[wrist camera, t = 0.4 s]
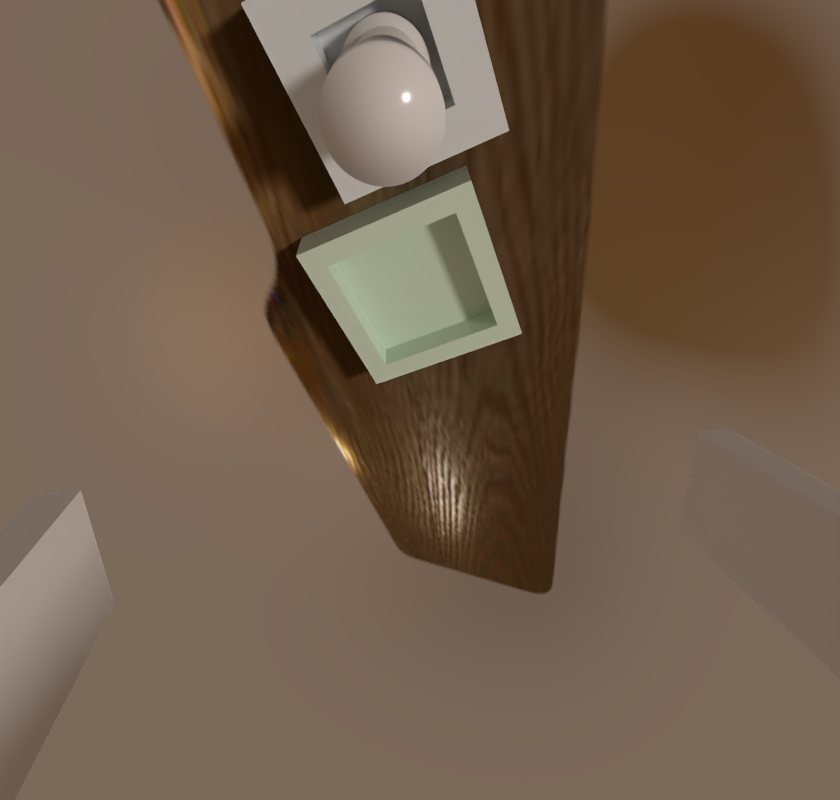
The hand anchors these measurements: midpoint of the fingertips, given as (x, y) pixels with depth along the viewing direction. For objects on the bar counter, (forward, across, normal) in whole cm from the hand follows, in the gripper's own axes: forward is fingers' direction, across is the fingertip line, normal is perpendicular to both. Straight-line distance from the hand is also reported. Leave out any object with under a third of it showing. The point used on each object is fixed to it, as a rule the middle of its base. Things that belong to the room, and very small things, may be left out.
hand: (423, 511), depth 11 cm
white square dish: (+26, +3, +14) cm, 30 cm away
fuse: (+25, +3, +14) cm, 29 cm away
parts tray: (+31, +5, +1) cm, 31 cm away
